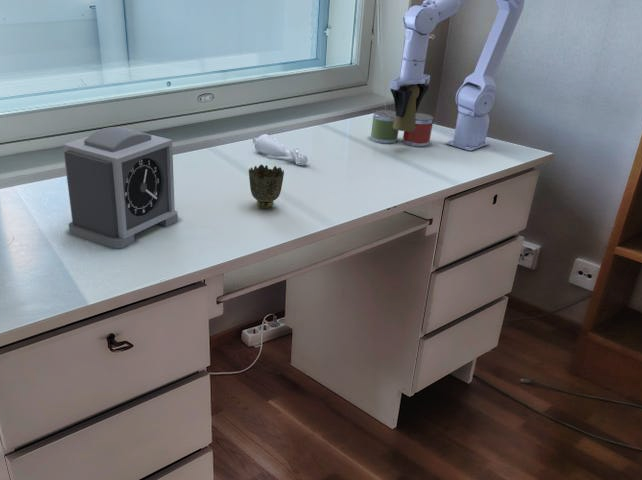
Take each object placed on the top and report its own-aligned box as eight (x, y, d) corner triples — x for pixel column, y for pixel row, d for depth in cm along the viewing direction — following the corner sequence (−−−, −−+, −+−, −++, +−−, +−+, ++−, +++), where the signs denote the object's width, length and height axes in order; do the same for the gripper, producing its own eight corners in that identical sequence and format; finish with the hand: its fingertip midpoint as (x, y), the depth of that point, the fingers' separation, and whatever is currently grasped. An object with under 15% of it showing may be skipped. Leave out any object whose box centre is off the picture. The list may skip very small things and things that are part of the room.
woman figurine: (272, 127, 182) (323, 148, 173) (271, 144, 185) (320, 165, 175) (240, 135, 175) (291, 157, 165) (239, 152, 178) (289, 175, 168)
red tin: (406, 137, 197) (410, 111, 193) (432, 141, 194) (436, 115, 190) (399, 143, 191) (403, 117, 187) (425, 148, 189) (429, 121, 185)
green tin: (392, 135, 198) (395, 110, 194) (400, 143, 191) (404, 117, 187) (367, 135, 196) (370, 110, 192) (374, 143, 190) (378, 117, 186)
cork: (417, 131, 180) (423, 87, 173) (394, 130, 179) (400, 86, 173) (413, 125, 185) (420, 82, 178) (391, 124, 185) (397, 81, 178)
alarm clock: (118, 250, 126) (109, 150, 116) (66, 232, 132) (53, 135, 121) (180, 219, 139) (177, 127, 129) (131, 204, 145) (124, 115, 135)
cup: (286, 203, 149) (288, 167, 145) (275, 215, 143) (277, 177, 139) (254, 198, 151) (255, 162, 147) (242, 209, 145) (243, 172, 141)
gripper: (410, 65, 166) (401, 122, 173) (443, 59, 175) (434, 114, 182) (386, 60, 170) (379, 116, 177) (420, 54, 179) (412, 108, 186)
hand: (405, 114), depth 180 cm, fingers closed on cork, 5 cm apart
